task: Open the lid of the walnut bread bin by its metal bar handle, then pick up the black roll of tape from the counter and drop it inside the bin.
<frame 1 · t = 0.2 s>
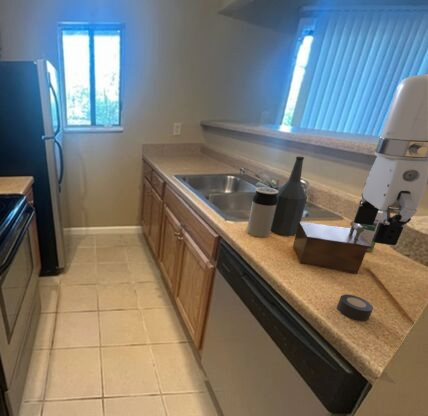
hand: (372, 232, 56), 23 cm above the worktop, tool pointing down, fingers open, 9 cm apart
syrup box: (361, 247, 98), on the worktop
tape: (352, 312, 68), on the worktop
lid: (333, 228, 86), point 11 cm above the worktop, hinge at 0.0°
bottle: (281, 231, 110), on the worktop
bin: (322, 258, 91), on the worktop
travel mug: (257, 233, 109), on the worktop
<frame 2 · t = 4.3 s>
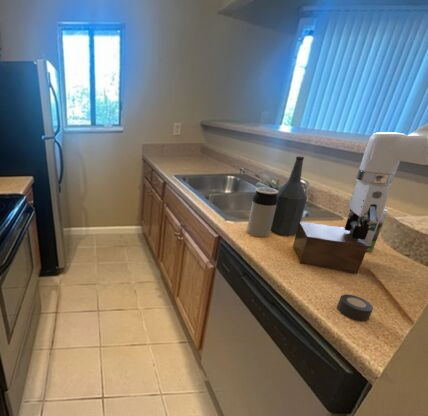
hand: (354, 233, 85), 10 cm above the worktop, tool pointing down, fingers closed on lid, 5 cm apart
lid: (333, 228, 86), point 11 cm above the worktop, hinge at 0.0°, touching gripper
everything else where it was.
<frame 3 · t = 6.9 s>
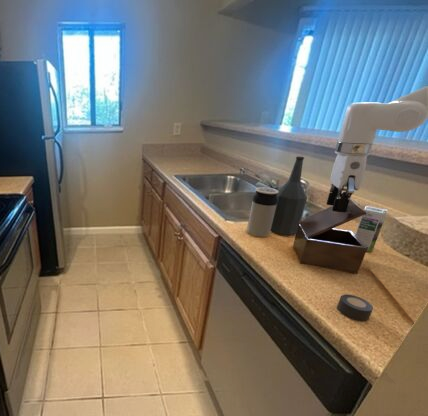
hand: (335, 207, 84), 18 cm above the worktop, tool pointing down, fingers closed on lid, 5 cm apart
lid: (324, 213, 86), point 16 cm above the worktop, hinge at 41.8°, touching gripper
everything else where it was.
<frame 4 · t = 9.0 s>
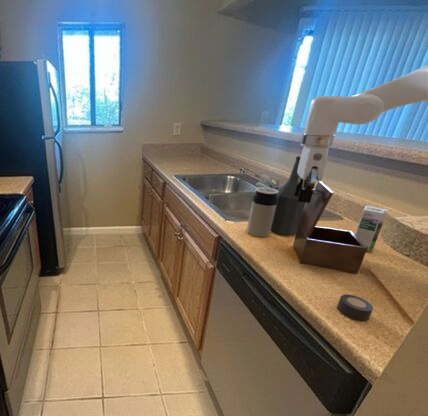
hand: (301, 198, 87), 20 cm above the worktop, tool pointing down, fingers closed on lid, 5 cm apart
lid: (306, 207, 87), point 17 cm above the worktop, hinge at 80.3°, touching gripper
everything else where it was.
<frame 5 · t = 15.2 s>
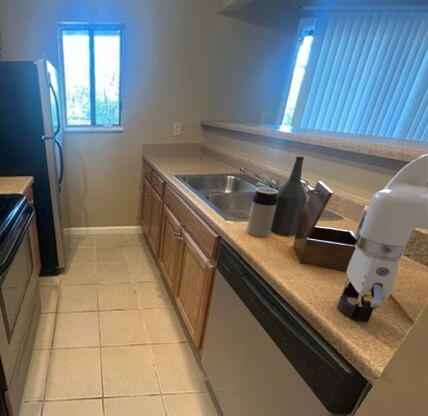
hand: (353, 309, 67), 1 cm above the worktop, tool pointing down, fingers closed on tape, 6 cm apart
tape: (352, 312, 68), on the worktop, touching gripper
lid: (306, 207, 87), point 17 cm above the worktop, hinge at 80.7°
everything else where it was.
when the fingers open (16 cm above the worktop, at t = 21.3 s): tape drops 14 cm, resting on bin.
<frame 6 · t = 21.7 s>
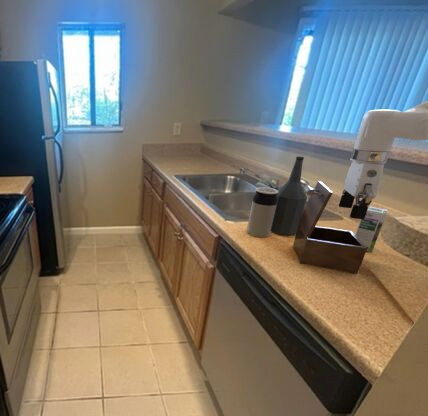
hand: (350, 212, 83), 17 cm above the worktop, tool pointing down, fingers open, 9 cm apart
tape: (334, 258, 89), point 1 cm above the worktop, touching bin
everything else where it was.
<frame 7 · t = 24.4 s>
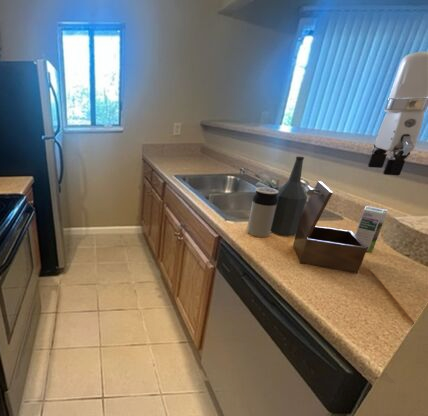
hand: (382, 170, 77), 30 cm above the worktop, tool pointing down, fingers open, 9 cm apart
nothing on the worktop moved.
at the end: lid at +81° (first picture: +0°); tape inside the target area in the bin (3.0 cm from its centre), point 0.8 cm above the bin's base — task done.
